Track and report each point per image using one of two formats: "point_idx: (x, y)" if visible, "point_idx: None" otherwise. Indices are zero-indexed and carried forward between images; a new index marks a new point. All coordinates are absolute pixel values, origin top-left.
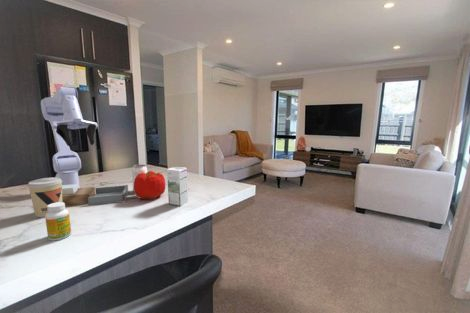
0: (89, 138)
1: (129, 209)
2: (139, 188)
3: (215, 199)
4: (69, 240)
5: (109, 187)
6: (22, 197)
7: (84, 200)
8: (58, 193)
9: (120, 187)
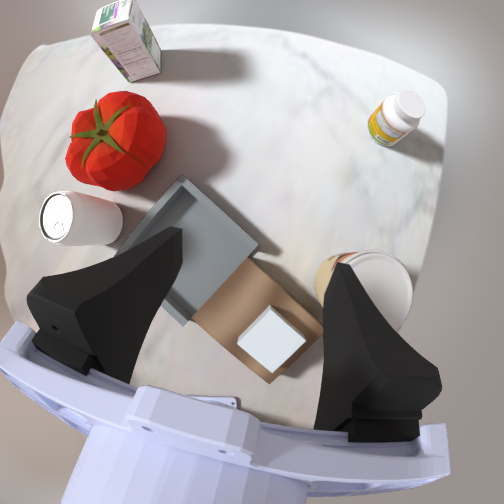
0: (155, 301)
1: (225, 118)
2: (160, 123)
3: None
4: (378, 102)
5: None
6: None
7: (258, 266)
8: (345, 255)
9: None
